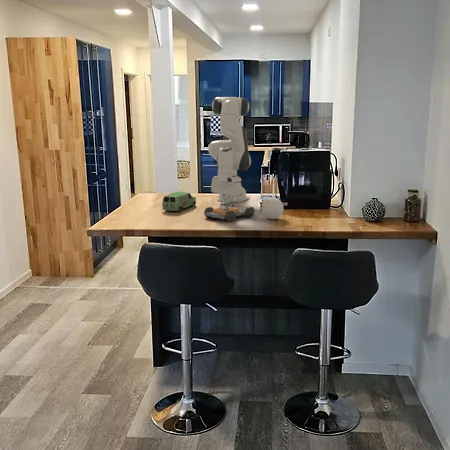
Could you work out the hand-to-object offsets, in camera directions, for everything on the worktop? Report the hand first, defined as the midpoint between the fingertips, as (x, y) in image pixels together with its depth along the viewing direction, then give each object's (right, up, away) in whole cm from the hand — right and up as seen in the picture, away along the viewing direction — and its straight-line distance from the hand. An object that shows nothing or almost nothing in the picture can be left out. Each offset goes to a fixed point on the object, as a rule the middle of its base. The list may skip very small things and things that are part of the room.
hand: (225, 202), depth 280 cm
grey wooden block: (0, -5, +1) cm, 5 cm away
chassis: (+2, -8, +4) cm, 9 cm away
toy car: (-28, -3, +28) cm, 40 cm away
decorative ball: (+25, -9, 0) cm, 27 cm away
